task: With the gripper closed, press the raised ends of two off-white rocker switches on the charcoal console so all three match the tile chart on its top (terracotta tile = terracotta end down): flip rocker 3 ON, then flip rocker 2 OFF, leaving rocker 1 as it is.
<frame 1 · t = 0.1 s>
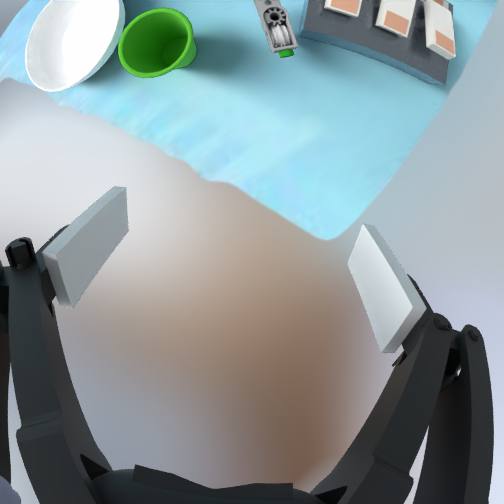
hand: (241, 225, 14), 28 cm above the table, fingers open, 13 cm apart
cup: (180, 52, 30), on the table
rocker 3: (440, 27, 19), point 8 cm above the table, hinge at -13.0°
console: (376, 15, 25), on the table
mechanical component: (271, 34, 29), on the table
rocker 2: (397, 5, 19), point 8 cm above the table, hinge at 13.0°
bowl: (87, 36, 27), on the table
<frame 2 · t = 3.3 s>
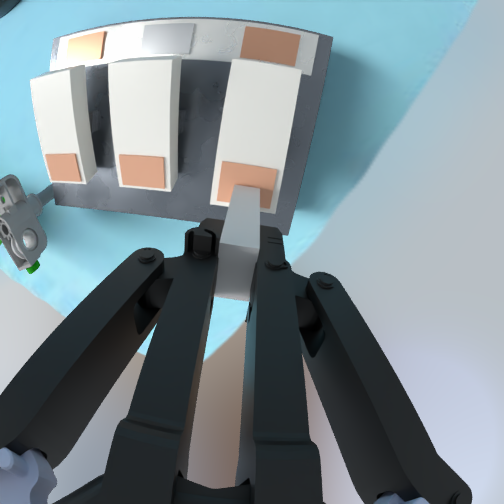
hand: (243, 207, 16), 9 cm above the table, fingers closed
rocker 1: (62, 127, 14), point 8 cm above the table, hinge at 13.0°
rocker 3: (254, 135, 15), point 8 cm above the table, hinge at -9.6°, touching gripper
console: (177, 112, 21), on the table
mechanical component: (59, 186, 25), on the table
rocker 2: (144, 125, 15), point 8 cm above the table, hinge at 13.0°
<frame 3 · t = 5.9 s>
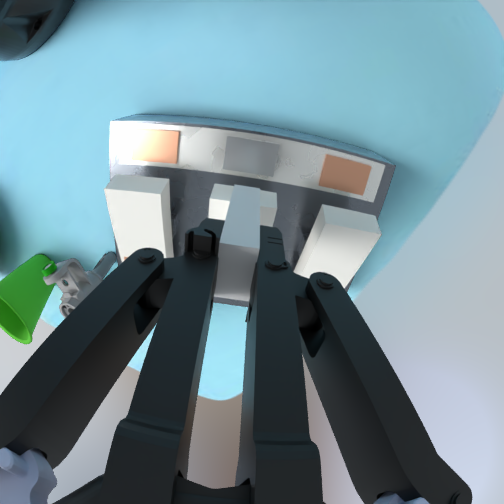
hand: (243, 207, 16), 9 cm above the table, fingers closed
rocker 1: (143, 235, 19), point 8 cm above the table, hinge at 13.0°
cup: (46, 267, 31), on the table
rocker 3: (329, 262, 20), point 8 cm above the table, hinge at 16.9°
console: (242, 206, 26), on the table
mechanical component: (111, 255, 30), on the table
rocker 2: (236, 249, 20), point 8 cm above the table, hinge at 10.9°, touching gripper
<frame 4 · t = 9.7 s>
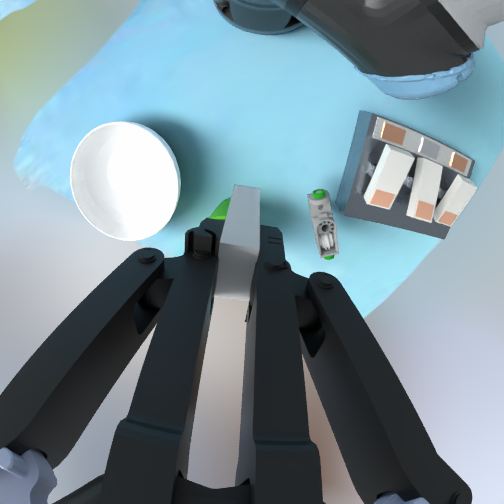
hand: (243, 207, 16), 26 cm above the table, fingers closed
rocker 1: (388, 178, 33), point 8 cm above the table, hinge at 13.0°
rocker 3: (454, 201, 34), point 8 cm above the table, hinge at 17.4°
console: (403, 174, 40), on the table
mechanical component: (313, 200, 44), on the table
rocker 2: (425, 190, 34), point 8 cm above the table, hinge at -14.7°
bowl: (134, 172, 42), on the table
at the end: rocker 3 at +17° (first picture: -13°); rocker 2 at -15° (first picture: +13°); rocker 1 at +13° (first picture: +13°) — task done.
